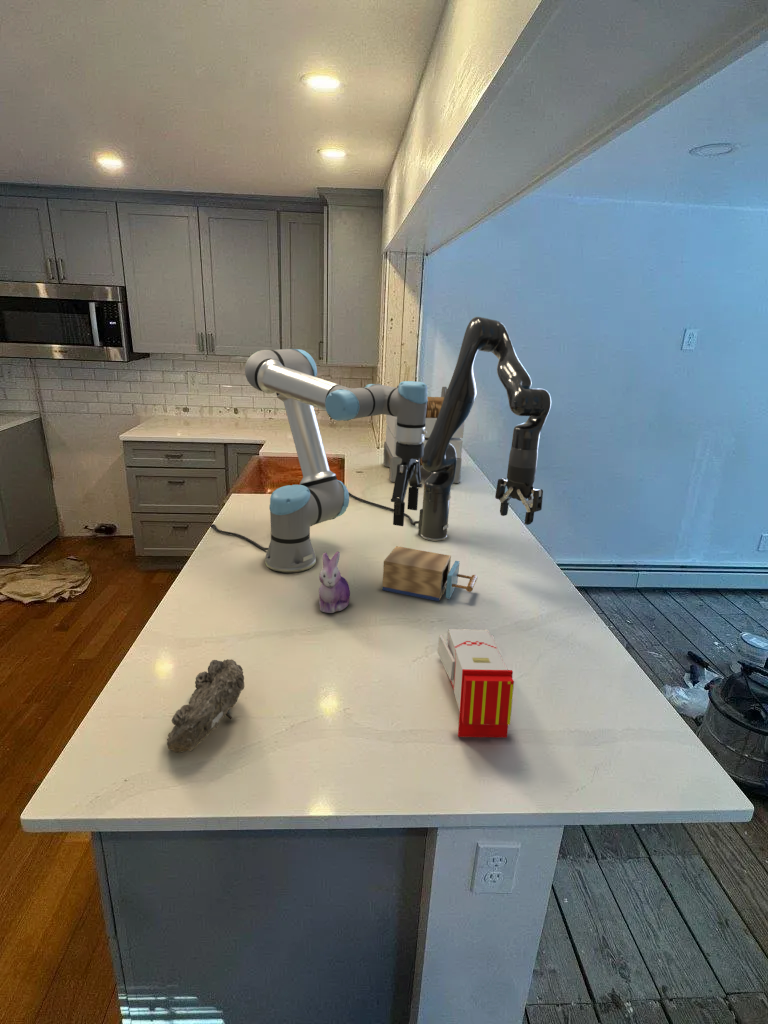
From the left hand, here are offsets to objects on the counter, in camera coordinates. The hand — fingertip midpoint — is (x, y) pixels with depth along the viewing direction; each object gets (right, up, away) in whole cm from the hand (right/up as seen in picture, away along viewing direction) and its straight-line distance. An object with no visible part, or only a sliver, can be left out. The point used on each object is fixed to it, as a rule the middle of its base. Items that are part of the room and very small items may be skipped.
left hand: (405, 517), depth 157 cm
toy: (+12, -36, -38) cm, 54 cm away
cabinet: (+3, -20, +6) cm, 21 cm away
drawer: (+9, -20, +3) cm, 22 cm away
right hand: (+31, -1, +2) cm, 31 cm away
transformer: (+11, +20, +118) cm, 120 cm away
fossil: (-39, -38, -49) cm, 73 cm away
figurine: (-19, -23, -7) cm, 31 cm away
